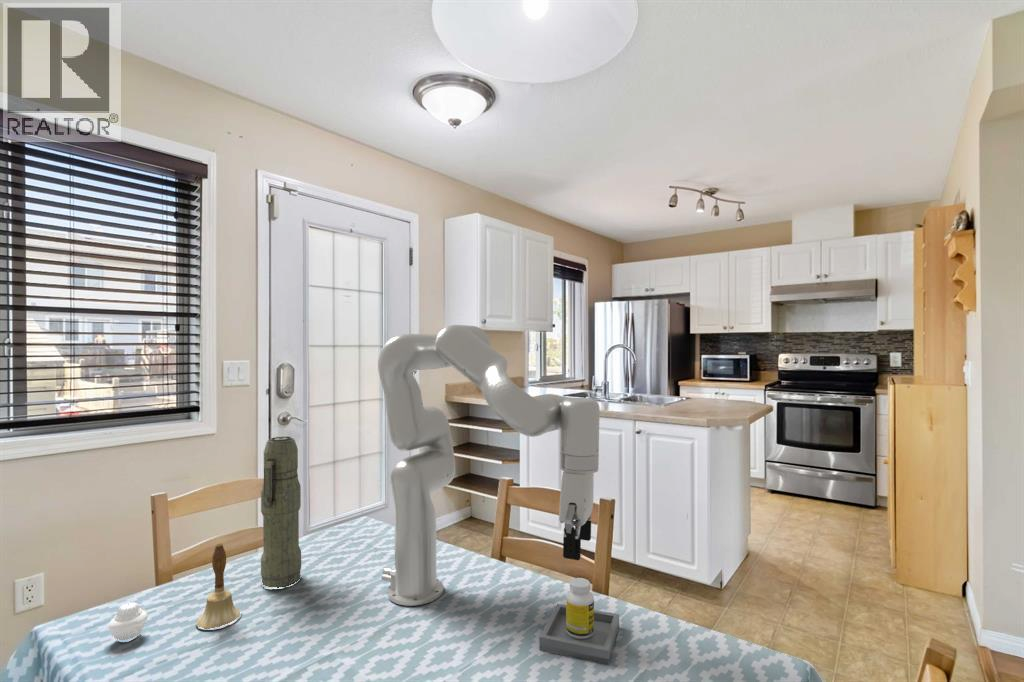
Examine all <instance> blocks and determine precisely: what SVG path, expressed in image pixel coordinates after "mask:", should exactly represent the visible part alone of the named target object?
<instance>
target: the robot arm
mask: <svg viewBox="0 0 1024 682" xmlns="http://www.w3.org/2000/svg"><path fill="white" fill-rule="evenodd" d="M508 366H509V365H508V359H507V358H506V357H505V356H504V355H502V354H501V353H499V352H498V351H497V350H496V349H494V348H493V347H491V341H490V337H489V335H488V334H487V332H485V330H483V328H480V327H479V326H476V325H468V324H467V325H465V324H464V325H463V324H452V325H447V326H446V327H444V328H442V329H441V330H440V331H438V333H437V334H428V333H427V334H424V333H422V334H420V333H407V334H406V333H405V334H400V335H396V336H394V337H392V338H390V339H389V340H388V341H387V342H385V344H384V345H383V347H382V348H381V350H380V352H379V355H378V360H377V369H378V370H377V371H378V375H379V379H380V382H381V386H382V391H383V395H384V402H385V411H386V416H387V424H388V431H389V437H390V440H391V443H392V445H393V447H394V448H395V449H396V450H398V451H402V452H409V451H413V450H417V449H420V453H416V454H414V455H411V456H408V457H406V458H403V459H401V460H400V461H398V462H397V463H396V464H395V465H394V466H393V468H392V470H391V472H390V474H389V486H390V492H391V497H392V502H393V503H392V504H393V512H394V513H393V514H394V515H393V517H394V518H393V519H394V523H393V525H394V569H393V568H390V567H385V568H384V569H383V571H382V575H381V581H384V582H389V583H390V586H389V587H388V590H387V597H388V599H389V600H390V601H391V602H393V603H394V604H397V605H398V606H399V605H400V606H405V607H406V606H407V607H410V606H421V605H425V604H426V605H427V604H429V603H431V602H434V601H435V600H437V599H439V598H440V597H441V595H442V594H443V592H444V584H443V582H442V581H441V580H440V579H439V578H437V514H436V509H435V506H434V503H433V501H432V498H431V494H432V493H434V492H435V491H438V490H440V489H442V488H445V487H446V486H448V485H450V483H451V482H452V481H453V479H454V477H455V475H456V459H455V453H454V446H453V439H452V433H451V428H450V427H451V426H450V423H449V422H450V421H449V419H448V418H447V416H446V415H445V413H444V412H443V411H442V410H441V409H440V408H439V407H436V406H434V405H426V406H424V402H423V397H422V390H421V387H420V385H419V383H418V381H417V379H416V378H415V376H414V374H413V372H415V371H422V370H423V371H425V370H427V371H428V370H438V369H443V368H449V367H453V368H454V369H455V370H457V371H458V372H459V373H460V374H461V375H463V376H464V377H465V378H466V379H468V380H469V381H470V382H471V383H473V384H474V385H475V386H476V387H478V389H479V390H480V391H481V394H482V397H483V398H484V400H485V401H486V403H487V404H488V407H489V408H490V409H491V410H492V412H493V413H494V414H495V415H496V416H497V417H498V418H500V419H501V420H502V421H503V422H505V424H507V425H509V427H511V428H512V429H514V430H515V431H516V432H518V433H520V434H521V435H524V436H526V437H533V438H534V437H538V436H539V437H540V436H542V435H545V434H546V433H549V432H550V433H551V432H554V431H557V430H560V437H559V438H560V440H559V444H560V445H559V446H560V448H559V450H560V451H559V469H560V470H561V471H562V476H561V482H560V483H561V484H560V485H561V486H560V497H559V509H558V510H559V511H558V513H559V514H558V521H559V523H560V524H564V527H563V534H562V535H563V543H562V545H563V546H562V547H563V548H562V550H563V552H562V557H563V558H564V559H568V560H575V561H580V560H581V557H582V555H581V550H582V549H581V547H582V545H581V544H582V541H587V542H590V541H591V538H592V513H593V508H594V507H593V506H594V473H597V472H599V464H600V463H599V461H600V459H599V458H600V456H599V455H600V453H599V452H600V449H599V448H600V446H599V445H600V405H599V402H598V401H597V400H595V399H592V398H588V397H567V396H563V395H558V394H554V393H545V394H541V395H540V394H539V395H535V396H532V395H531V394H529V393H528V392H526V391H525V390H523V389H522V388H521V387H519V385H517V384H516V383H515V382H514V381H513V380H512V379H511V378H510V376H509V375H508V373H507V369H508Z"/></svg>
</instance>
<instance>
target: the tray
mask: <svg viewBox="0 0 1024 682" xmlns="http://www.w3.org/2000/svg"><path fill="white" fill-rule="evenodd" d="M619 629H620V613H619V614H618V613H613V612H607V611H601V610H596V609H594V633H593V635H592V636H591V637H590V638H587V639H576V638H573V637H571V636H570V635H569V634H568V633H567V631H566V604H563V603H557V604H556V605H555V607H554V609H553V611H552V613H551V615H550V617H548V619H547V622H546V624H545V626H544V628H543V629H542V631H541V633H540V635H539V637H538V638H539V641H538V642H539V646H538V647H539V648H538V649H539V651H540V652H546V653H552V654H555V655H560V656H564V657H565V656H566V657H570V658H574V659H579V660H584V661H588V662H594V663H597V664H603V665H607V666H610V662H611V658H612V655H613V652H614V649H615V644H616V641H617V637H618V633H619V631H620V630H619Z"/></svg>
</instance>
